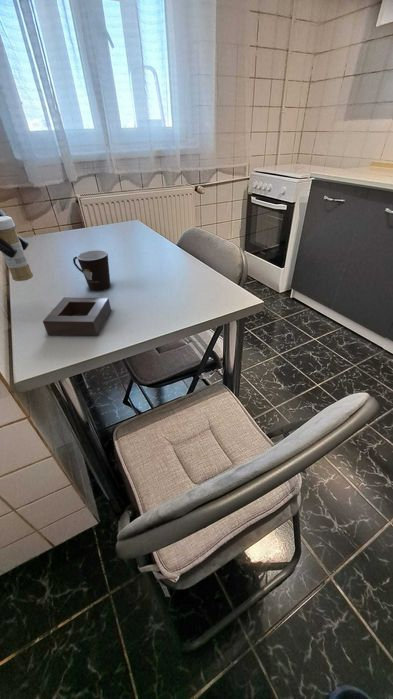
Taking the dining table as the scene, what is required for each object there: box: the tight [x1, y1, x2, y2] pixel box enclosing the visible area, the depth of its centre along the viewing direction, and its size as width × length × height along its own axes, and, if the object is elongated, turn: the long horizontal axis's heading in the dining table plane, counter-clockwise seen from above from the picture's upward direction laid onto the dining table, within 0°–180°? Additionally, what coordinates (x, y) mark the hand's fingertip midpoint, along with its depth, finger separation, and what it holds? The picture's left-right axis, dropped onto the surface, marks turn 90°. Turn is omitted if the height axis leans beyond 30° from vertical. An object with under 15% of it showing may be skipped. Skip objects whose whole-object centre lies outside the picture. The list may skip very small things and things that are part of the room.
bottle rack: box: [42, 296, 112, 337], centre depth 73 cm, size 12×12×4 cm
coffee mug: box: [72, 249, 111, 292], centre depth 89 cm, size 12×9×10 cm
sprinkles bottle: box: [0, 215, 34, 282], centre depth 66 cm, size 5×5×13 cm
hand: (20, 250), depth 66 cm, fingers closed on sprinkles bottle, 4 cm apart
